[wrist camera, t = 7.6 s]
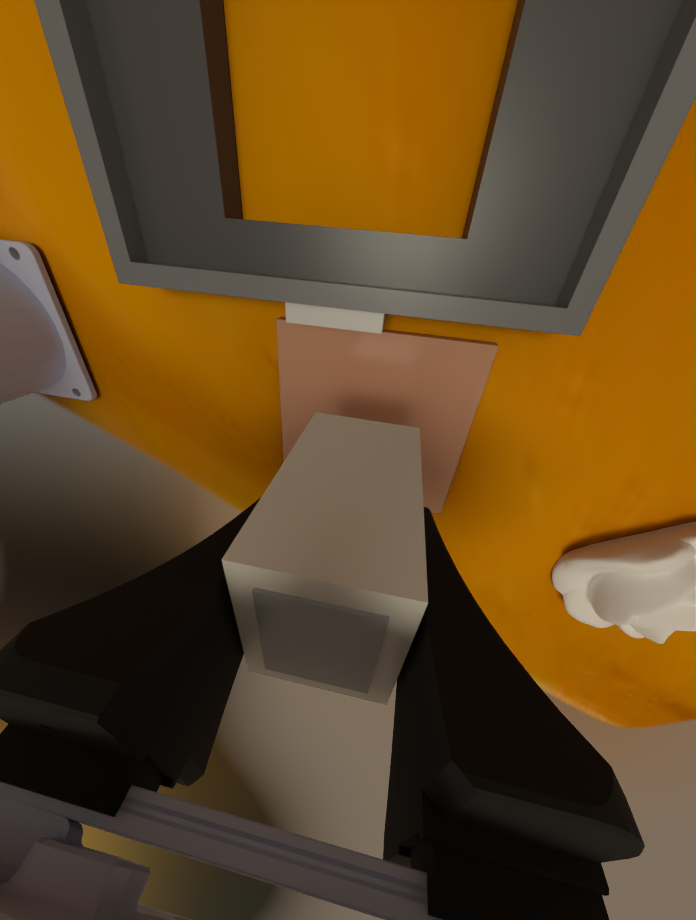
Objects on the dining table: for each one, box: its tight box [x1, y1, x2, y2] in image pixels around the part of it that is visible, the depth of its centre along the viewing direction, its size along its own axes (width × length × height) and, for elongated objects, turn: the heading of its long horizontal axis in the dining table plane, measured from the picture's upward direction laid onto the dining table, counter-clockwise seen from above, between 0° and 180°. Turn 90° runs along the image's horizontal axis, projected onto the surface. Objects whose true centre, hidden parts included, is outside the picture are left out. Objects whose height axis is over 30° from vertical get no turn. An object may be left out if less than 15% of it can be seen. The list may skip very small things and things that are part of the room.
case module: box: [222, 412, 428, 705], centre depth 10 cm, size 4×5×7 cm
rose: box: [552, 522, 696, 644], centre depth 17 cm, size 10×4×10 cm
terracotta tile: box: [276, 317, 499, 514], centre depth 17 cm, size 10×10×1 cm
